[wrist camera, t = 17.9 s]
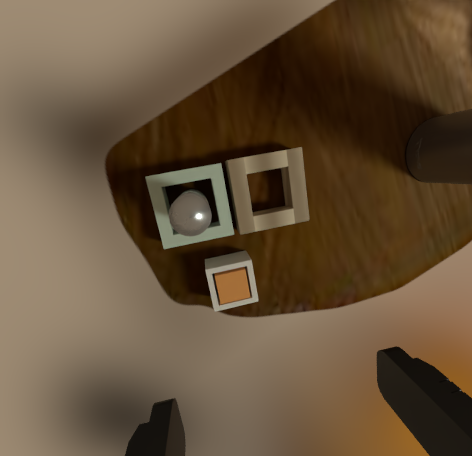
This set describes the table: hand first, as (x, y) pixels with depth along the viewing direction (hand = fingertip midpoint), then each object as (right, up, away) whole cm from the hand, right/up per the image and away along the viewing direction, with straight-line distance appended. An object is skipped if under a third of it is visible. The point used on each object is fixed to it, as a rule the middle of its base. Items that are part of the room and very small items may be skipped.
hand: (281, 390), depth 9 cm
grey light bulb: (-8, +9, +23) cm, 26 cm away
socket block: (+2, +11, +24) cm, 27 cm away
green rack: (-8, +9, +23) cm, 26 cm away
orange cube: (-3, -1, +26) cm, 26 cm away
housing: (-3, 0, +26) cm, 26 cm away
